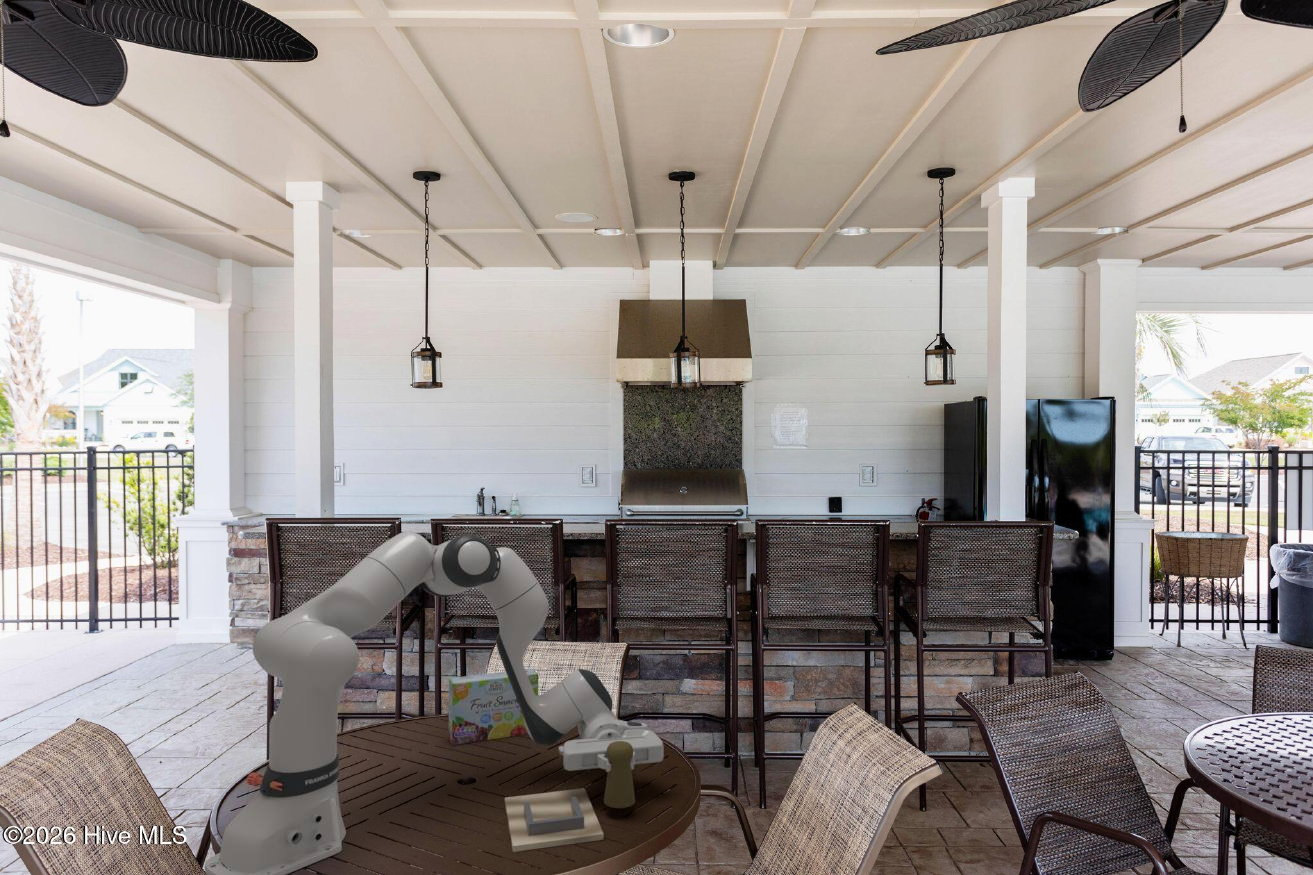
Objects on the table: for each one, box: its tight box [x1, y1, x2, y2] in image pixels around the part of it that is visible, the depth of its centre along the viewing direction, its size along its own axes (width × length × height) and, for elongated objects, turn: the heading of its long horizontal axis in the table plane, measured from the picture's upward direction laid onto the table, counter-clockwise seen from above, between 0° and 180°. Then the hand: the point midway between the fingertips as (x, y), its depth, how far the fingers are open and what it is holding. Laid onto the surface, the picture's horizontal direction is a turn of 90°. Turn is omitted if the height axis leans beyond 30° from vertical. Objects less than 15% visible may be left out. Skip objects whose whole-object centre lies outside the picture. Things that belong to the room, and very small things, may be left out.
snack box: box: [448, 668, 539, 746], centre depth 190 cm, size 21×6×15 cm, turn 115°
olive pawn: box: [603, 741, 636, 809], centre depth 148 cm, size 6×6×11 cm
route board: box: [504, 787, 604, 853], centre depth 145 cm, size 20×16×1 cm
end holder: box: [524, 797, 584, 836], centre depth 142 cm, size 9×10×2 cm
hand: (620, 766), depth 147 cm, fingers closed on olive pawn, 2 cm apart
